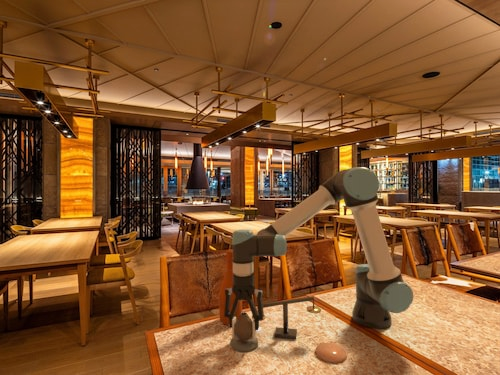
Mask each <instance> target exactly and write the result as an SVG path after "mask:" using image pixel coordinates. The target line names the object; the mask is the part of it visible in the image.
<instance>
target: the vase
mask: <svg viewBox="0 0 500 375" xmlns="http://www.w3.org/2000/svg"><path fill="white" fill-rule="evenodd" d="M252 322H253V319H252V317H250V316H249V314H248V312H246V311H242V313H241V314H240V316H239V318H238V319H237V320H236V323H235V334H236V336H237V338H238V339H239V340H241V341H247V340H249V339H250V338H251V337H252V336H253V325H252Z"/></svg>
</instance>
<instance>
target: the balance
mask: <svg viewBox="0 0 500 375" xmlns="http://www.w3.org/2000/svg"><path fill="white" fill-rule="evenodd" d="M311 301H312V305H309V306H307V307H306V312H308V313H310V314H319V313H321V312H322V308H321V307H319V306H316V305H315V296H306V297H298V298H293V299H286V300H285V299H284V300H279V301H278V300H277V301H271V302H265V303H263V302H262V304H263V308H269V307H275V306H282V323H283V324H282V326H283V327H277V326H276V328H275V330H274V333H273V334H274V338H275V339H283V340H293V341H294V340H295V341H296V340H297V335H298V329H296V328H289V306H288V305H289V304H297V303H306V302H311ZM256 306H257V307H256V310H257V312H258V315H259V311H258V304H256ZM265 319H266V315H265V314H264V317H263V320H259V322H261V321H264V320H265ZM251 320H252V321H253V320H254V317H253V315H252V314H251Z"/></svg>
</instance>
